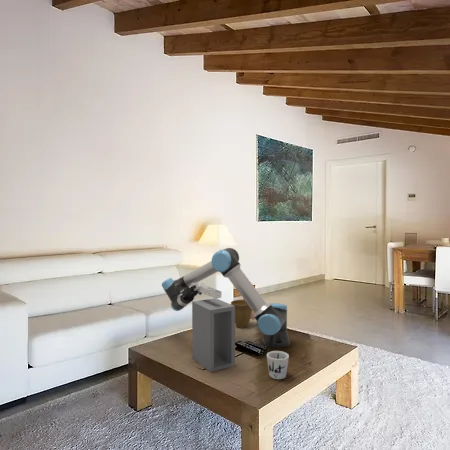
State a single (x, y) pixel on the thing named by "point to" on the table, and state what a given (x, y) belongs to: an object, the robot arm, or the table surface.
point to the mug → (277, 364)
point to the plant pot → (242, 313)
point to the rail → (208, 291)
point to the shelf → (213, 334)
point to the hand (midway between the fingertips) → (202, 283)
